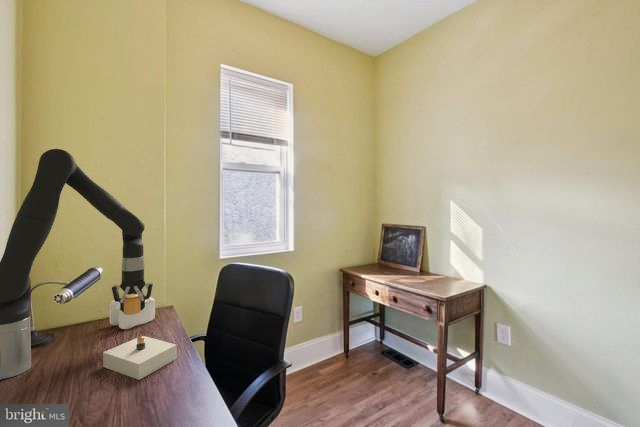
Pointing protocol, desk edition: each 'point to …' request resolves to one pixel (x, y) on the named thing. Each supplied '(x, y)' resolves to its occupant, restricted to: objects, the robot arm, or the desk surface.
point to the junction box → (139, 357)
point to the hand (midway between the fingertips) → (132, 310)
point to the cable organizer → (131, 320)
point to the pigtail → (140, 343)
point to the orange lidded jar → (132, 305)
